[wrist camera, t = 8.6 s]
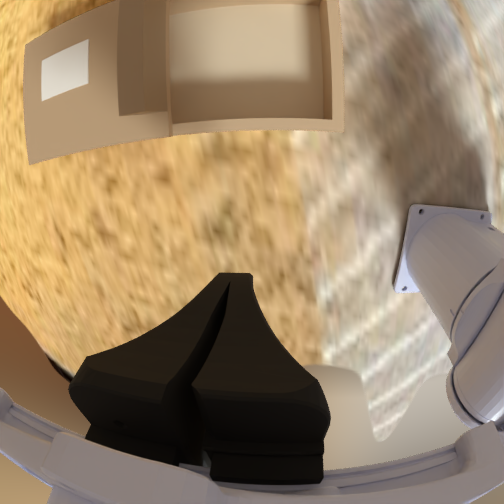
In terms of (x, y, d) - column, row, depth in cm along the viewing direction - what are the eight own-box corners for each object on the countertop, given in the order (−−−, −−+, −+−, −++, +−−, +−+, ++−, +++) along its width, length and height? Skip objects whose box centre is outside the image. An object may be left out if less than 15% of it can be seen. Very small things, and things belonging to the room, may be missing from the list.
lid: (170, -12, 10) (147, -35, 7) (172, 135, 15) (147, 142, 12) (30, 45, 11) (-2, 43, 8) (34, 163, 16) (1, 176, 13)
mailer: (326, 2, 13) (336, -18, 10) (332, 129, 18) (344, 132, 14) (158, 13, 14) (137, -2, 11) (161, 135, 19) (139, 140, 15)
